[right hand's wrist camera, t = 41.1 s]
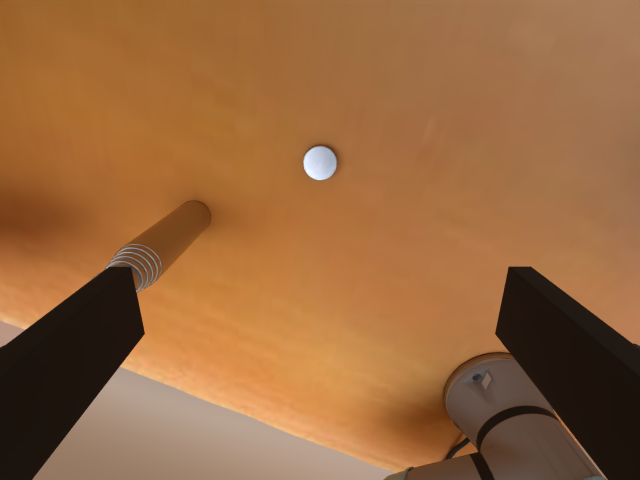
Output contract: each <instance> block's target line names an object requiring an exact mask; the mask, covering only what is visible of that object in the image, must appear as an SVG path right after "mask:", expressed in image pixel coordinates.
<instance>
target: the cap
mask: <svg viewBox="0 0 640 480" xmlns="http://www.w3.org/2000/svg"><path fill="white" fill-rule="evenodd" d="M303 161H304V162H303V165H304V169H305V172H306V173H307V174H308V175H309V176H310V177H311V178H313V179H315V180H325V179H328V178H329V177H331V176H332V175H333V174H334V172H335V170H336V168H337V158H336V155H335V154H334V151H332V150H331V148H329V147H328V146H325V145H316V146H312V147H311V148H309V150H308V151H307V152H306V154H305V156H304V159H303Z"/></svg>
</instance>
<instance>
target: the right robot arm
mask: <svg viewBox="0 0 640 480" xmlns="http://www.w3.org/2000/svg"><path fill="white" fill-rule="evenodd" d="M144 334H145V332H144V327H143V322H142V317H141V313H140V308H139V303H138V298H137V293H136V288H135V283H134V278H133V273H132V268H131V267H108V268H107V269H105V270H104V271H103V272H101V273H100V274H99V275H98V276H96V277H95V278H94V279H92V280H91V281H90V282H88V283H87V284H86V285H84V286H83V287H82V288H80V289H79V290H78V291H76V292H75V293H74V294H72V295H71V296H70V297H68V298H67V299H66V300H64V301H63V302H62V303H61V304H59V305H58V306H57V307H55V308H54V309H53V310H51V311H50V312H49V313H47V314H46V315H45V316H43V317H42V318H41V319H39V320H38V321H37V322H35V323H34V324H33V325H31V326H30V327H29V328H27V329H26V330H25V331H24V332H22V333H21V334H20V335H18V336H17V337H16V338H14V339H13V340H12V341H10V342H9V343H8V344H6V345H4V346H2V347H0V480H32V479H33V478H34V476H35V475H36V474H37V473H38V471H39V470H40V469H41V467H42V466H43V465H44V463H45V462H46V461H47V459H48V458H49V457H50V456H51V454H52V453H53V452H54V451H55V449H56V448H57V447H58V445H59V444H60V443H61V441H62V440H63V439H64V438H65V436H66V435H67V434H68V432H69V431H70V430H71V428H72V427H73V426H74V425H75V423H76V422H77V421H78V420H79V418H80V417H81V416H82V414H83V413H84V412H85V410H86V409H87V408H88V407H89V405H90V404H91V403H92V401H93V400H94V399H95V398H96V396H97V395H98V394H99V392H100V391H101V390H102V388H103V387H104V386H105V385H106V383H107V382H108V381H109V379H110V378H111V377H112V376H113V374H114V373H115V372H116V370H117V369H118V368H119V366H120V365H121V364H122V363H123V361H124V360H125V359H126V357H127V356H128V355H129V354H130V352H131V351H132V350H133V348H134V347H135V346H136V344H137V343H138V342H139V341H140V339H141V338H142V337H143V335H144ZM495 334H496V335H497V337H498V338H499V339H500V341H501V342H502V343H503V344H504V346H505V347H506V348H507V350H508V351H509V352H510V354H507V353H492V354H486V355H482V356H479V357H476V358H474V359H471V360H469V361H468V362H466V363H464V364H463V365H461V366H460V367H459V368H458V369H457V370H456V371H455V372H454V373H453V374H452V375H451V376H450V378H449V379H448V381H447V383H446V385H445V388H444V394H443V400H444V405H445V407H446V410H447V412H448V414H449V417H450V418H451V420H452V421H453V423H454V424H455V425H456V426H457V427H458V428H459V429H460V430H461V431H462V432H463V433H464V434H465V435H466V436H467V438H465V439H464V440H463V441H462V442H461V443H459V444H458V445H457V446H455V447H454V448H453V449H452V451H451V452H450V453H449V455H448V456H447V458H446V459H445V460H444V461H440V462H436V463H431V464H427V465H423V466H419V467H415V468H414V467H409V468H407V469H406V470H405V471H402V472H399V473H396V474H392V475H389V476H387V477H386V478H385V479H384V480H606V479H605V478H604V477H602V475H601V474H600V473H599V471H598V470H597V469H596V468H595V466H594V465H593V464H592V462H591V461H590V460H589V459H588V457H587V456H586V455H585V453H584V452H583V451H582V449H581V448H580V447H579V446H578V444H577V443H576V442H575V440H574V439H573V438H572V437H571V435H570V434H569V433H568V431H567V430H566V429H565V427H564V426H563V425H562V424H561V422H560V421H559V420H558V418H557V417H556V416H555V414H554V411H553V409H554V410H555V412H556V413H557V414H558V416H559V417H560V418H561V420H562V421H563V422H564V423H565V425H566V426H567V427H568V429H569V430H570V431H571V432H572V434H573V435H574V436H575V438H576V439H577V440H578V441H579V443H580V444H581V445H582V447H583V448H584V449H585V451H586V452H587V453H588V454H589V456H590V457H591V458H592V460H593V461H594V462H595V463H596V465H597V466H598V467H599V469H600V470H601V471H602V473H603V474H604V475H605V476H606V478H607V479H608V480H640V346H639V345H637V344H632V343H631V342H630V341H628V340H627V339H626V338H624V337H623V336H622V335H620V334H619V333H618V332H616V331H615V330H614V329H613V328H611V327H610V326H609V325H607V324H606V323H605V322H603V321H602V320H601V319H599V318H598V317H597V316H595V315H594V314H593V313H591V312H590V311H589V310H587V309H586V308H585V307H583V306H582V305H581V304H579V303H578V302H577V301H576V300H574V299H573V298H572V297H570V296H569V295H568V294H566V293H565V292H564V291H562V290H561V289H560V288H558V287H557V286H556V285H554V284H553V283H552V282H550V281H549V280H548V279H546V278H545V277H544V276H542V275H541V274H540V273H539V272H537V271H536V270H535V269H533V268H532V267H509V268H508V273H507V278H506V283H505V288H504V293H503V298H502V303H501V308H500V313H499V317H498V322H497V327H496V332H495ZM470 441H471V442H472V443H473V444H474V446H475V447H476V448H477V450H478V452H477V453H473V454H468V455H464V456H460V457H456V458H452V457H453V456H454V454H455V453H456V452H457V451H458V450H460V449H461V448H462V447H464V446H465V445H466V444H468V443H469V442H470ZM451 458H452V459H451Z"/></svg>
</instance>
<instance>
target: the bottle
mask: <svg viewBox="0 0 640 480" xmlns="http://www.w3.org/2000/svg"><path fill="white" fill-rule="evenodd" d="M210 221H211V215H210V212H209V210H208V208H207V207H206V206H205V205H204V204H202V203H200V202H198V201H188V202H186V203H184V204H183V205H181V206H180V207H179V208H177V209H176V210H174V211H173V212H172V213H170V214H169V215H167V216H166V217H164V218H163V219H162V220H160V221H159V222H157V223H156V224H155V225H153V226H152V227H150V228H149V229H148V230H146V231H145V232H143V233H142V234H141V235H139V236H138V237H136V238H135V239H134V240H132V241H131V242H129V243H128V244H126V245H125V246H124V247H122V248H121V249H120V250H119V251H118V252H117V253H116V254H115V256H114V257H113V258H112V260H111V261H110V262H109V264H108V265H107V267H106V268H105V269H107V268H108V267H131V268H132V273H133V278H134V283H135V288H136V293H138V292H139V291H141V290H143V289H145V288H146V287H148V286H150V285H152V284H153V283H154V282H156V281H157V280H158V279H159V278H160V277H161V276H162V275H163V273H164V272H165V271H166V270H167V269H168V268H169V267H170V266H171V265H172V264H173V263H174V262H175V261H176V260H177V259H178V258H179V256H180V255H181V254H182V253H183V252H184V251H185V250H186V249H187V248H188V247H189V246H190V245H191V244H192V243H193V242H194V241H195V239H196V238H197V237H198V236H199V235H200V234H201V233H202V232H203V231H204V230H205V229H206V228H207V227H208V225H209V224H210ZM99 274H100V273H99ZM99 274H98V275H99ZM98 275H96V276H98ZM96 276H95V277H96ZM95 277H93V279H94V278H95Z"/></svg>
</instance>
